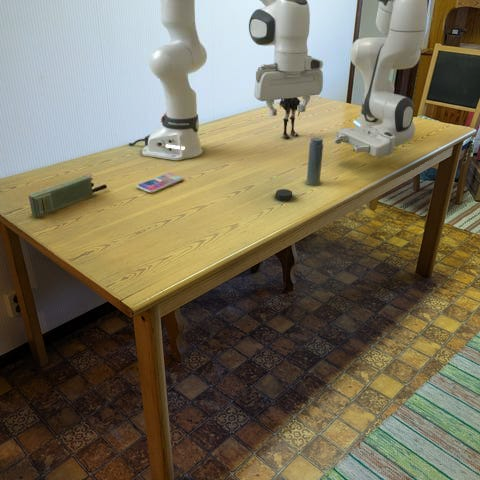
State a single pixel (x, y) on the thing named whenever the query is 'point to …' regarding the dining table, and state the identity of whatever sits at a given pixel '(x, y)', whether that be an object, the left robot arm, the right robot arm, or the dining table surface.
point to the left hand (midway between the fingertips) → (287, 113)
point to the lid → (283, 195)
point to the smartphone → (159, 182)
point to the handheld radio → (62, 195)
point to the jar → (314, 161)
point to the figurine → (289, 105)
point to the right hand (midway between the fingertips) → (345, 145)
